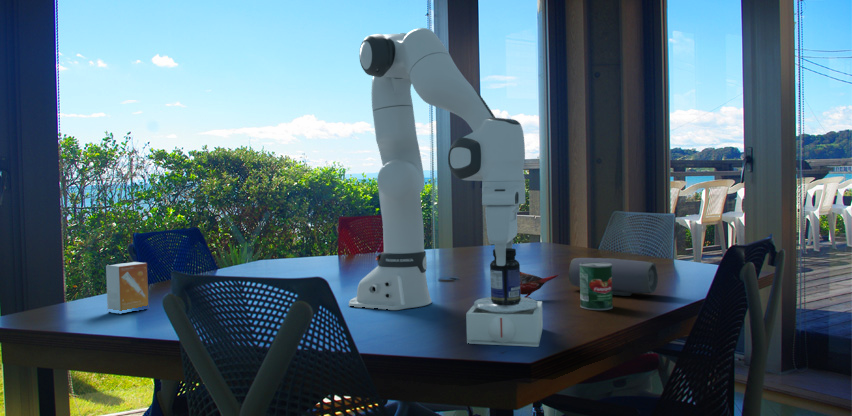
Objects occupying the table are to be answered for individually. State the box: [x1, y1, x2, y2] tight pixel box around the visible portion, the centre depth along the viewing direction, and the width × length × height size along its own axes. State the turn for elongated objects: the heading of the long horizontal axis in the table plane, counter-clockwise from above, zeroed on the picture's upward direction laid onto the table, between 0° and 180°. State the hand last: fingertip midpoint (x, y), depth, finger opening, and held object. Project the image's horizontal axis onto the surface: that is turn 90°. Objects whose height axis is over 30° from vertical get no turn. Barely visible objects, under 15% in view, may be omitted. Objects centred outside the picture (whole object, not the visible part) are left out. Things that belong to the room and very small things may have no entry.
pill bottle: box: [489, 247, 522, 304], centre depth 115 cm, size 6×6×11 cm
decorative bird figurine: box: [520, 271, 559, 299], centre depth 151 cm, size 3×18×10 cm, turn 107°
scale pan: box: [473, 296, 538, 314], centre depth 115 cm, size 13×13×4 cm
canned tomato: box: [579, 262, 614, 311], centre depth 140 cm, size 8×8×11 cm
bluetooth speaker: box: [568, 257, 659, 297], centre depth 157 cm, size 23×9×10 cm, turn 50°
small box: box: [105, 261, 149, 311], centre depth 151 cm, size 8×6×13 cm
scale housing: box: [465, 300, 544, 348], centre depth 115 cm, size 14×15×6 cm
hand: (504, 262), depth 115 cm, fingers open, 8 cm apart
